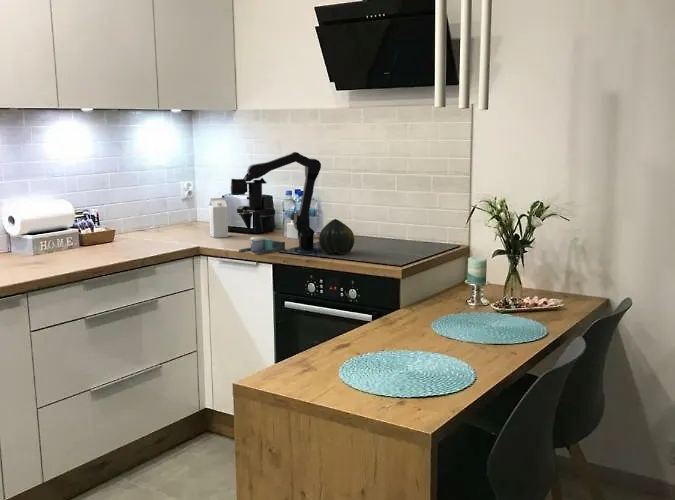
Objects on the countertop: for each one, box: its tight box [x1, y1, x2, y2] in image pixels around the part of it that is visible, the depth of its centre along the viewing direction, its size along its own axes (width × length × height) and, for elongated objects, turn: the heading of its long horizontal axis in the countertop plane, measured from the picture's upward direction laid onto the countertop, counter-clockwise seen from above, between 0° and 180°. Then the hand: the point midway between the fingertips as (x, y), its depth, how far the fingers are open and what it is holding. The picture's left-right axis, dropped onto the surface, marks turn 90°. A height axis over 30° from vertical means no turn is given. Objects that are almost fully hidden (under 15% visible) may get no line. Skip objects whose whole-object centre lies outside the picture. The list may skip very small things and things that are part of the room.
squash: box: [318, 218, 355, 255], centre depth 313 cm, size 14×15×15 cm
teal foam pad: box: [263, 237, 273, 251], centre depth 321 cm, size 2×9×5 cm, turn 48°
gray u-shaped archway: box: [238, 239, 286, 256], centre depth 320 cm, size 16×12×4 cm
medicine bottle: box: [286, 212, 301, 240], centre depth 355 cm, size 7×7×12 cm
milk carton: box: [208, 197, 229, 239], centre depth 360 cm, size 7×7×19 cm
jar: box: [249, 236, 265, 252], centre depth 318 cm, size 6×6×5 cm
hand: (256, 230), depth 317 cm, fingers open, 9 cm apart
